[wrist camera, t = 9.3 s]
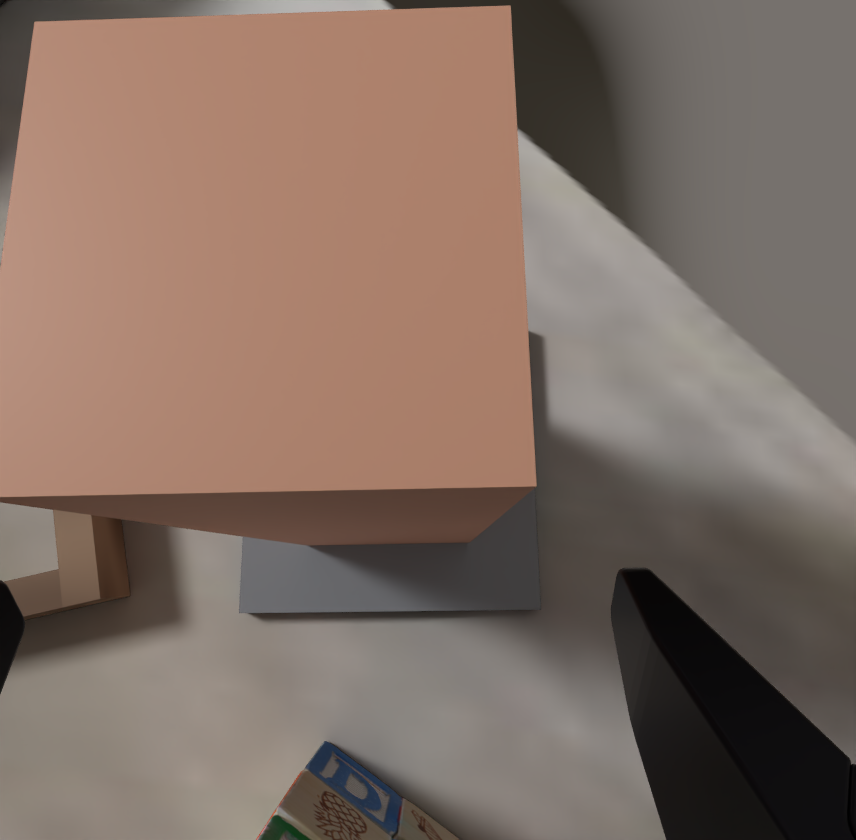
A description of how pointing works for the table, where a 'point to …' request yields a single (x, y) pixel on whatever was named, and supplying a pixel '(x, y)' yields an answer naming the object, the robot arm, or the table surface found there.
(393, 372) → the terracotta block
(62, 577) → the walnut rack
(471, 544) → the slate mat
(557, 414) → the table surface
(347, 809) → the stack of blocks
